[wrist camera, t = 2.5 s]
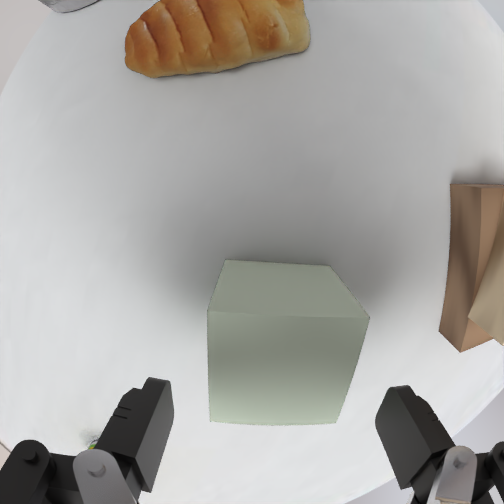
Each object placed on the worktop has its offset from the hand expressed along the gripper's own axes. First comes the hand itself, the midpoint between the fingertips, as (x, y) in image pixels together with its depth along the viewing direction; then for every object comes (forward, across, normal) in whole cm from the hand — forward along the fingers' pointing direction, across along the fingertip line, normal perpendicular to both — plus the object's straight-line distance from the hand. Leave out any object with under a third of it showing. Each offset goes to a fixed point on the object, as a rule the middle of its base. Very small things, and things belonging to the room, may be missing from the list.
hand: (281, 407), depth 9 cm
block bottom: (+8, -16, -5) cm, 18 cm away
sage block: (+7, 0, -1) cm, 7 cm away
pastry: (+7, +4, -16) cm, 18 cm away
